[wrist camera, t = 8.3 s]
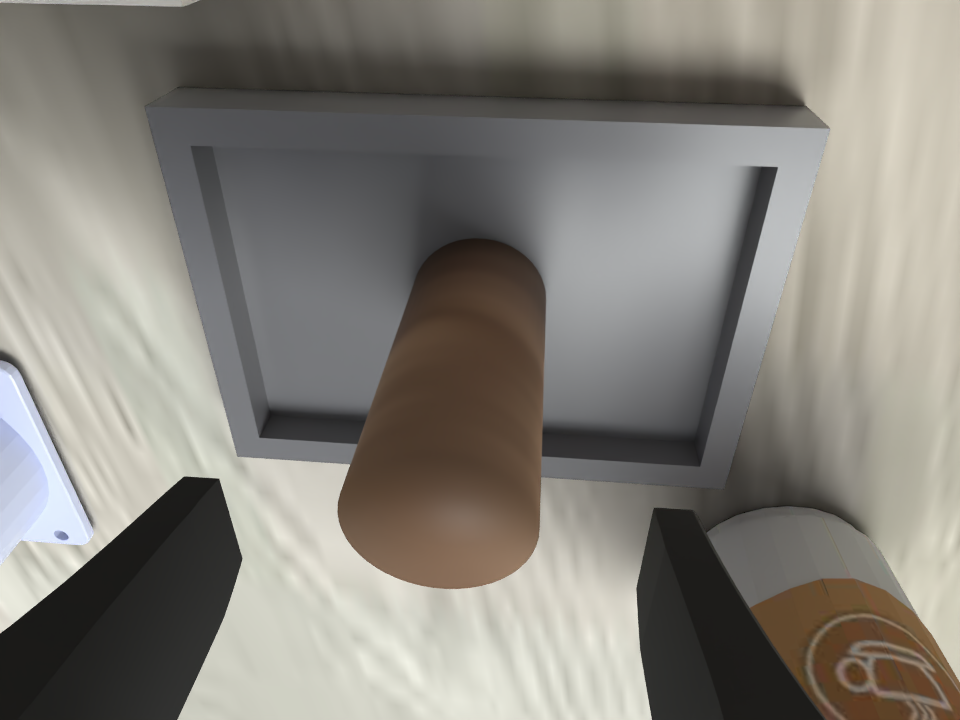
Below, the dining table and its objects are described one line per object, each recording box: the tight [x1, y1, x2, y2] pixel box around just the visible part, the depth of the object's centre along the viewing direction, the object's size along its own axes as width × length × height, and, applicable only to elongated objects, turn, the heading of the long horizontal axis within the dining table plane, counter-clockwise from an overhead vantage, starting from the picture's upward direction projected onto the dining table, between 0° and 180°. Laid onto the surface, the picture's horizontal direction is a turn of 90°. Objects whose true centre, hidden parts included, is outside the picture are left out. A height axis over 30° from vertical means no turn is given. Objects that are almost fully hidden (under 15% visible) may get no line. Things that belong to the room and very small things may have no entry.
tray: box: [145, 87, 830, 490], centre depth 18 cm, size 14×10×2 cm
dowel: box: [338, 238, 546, 589], centre depth 15 cm, size 3×3×8 cm
